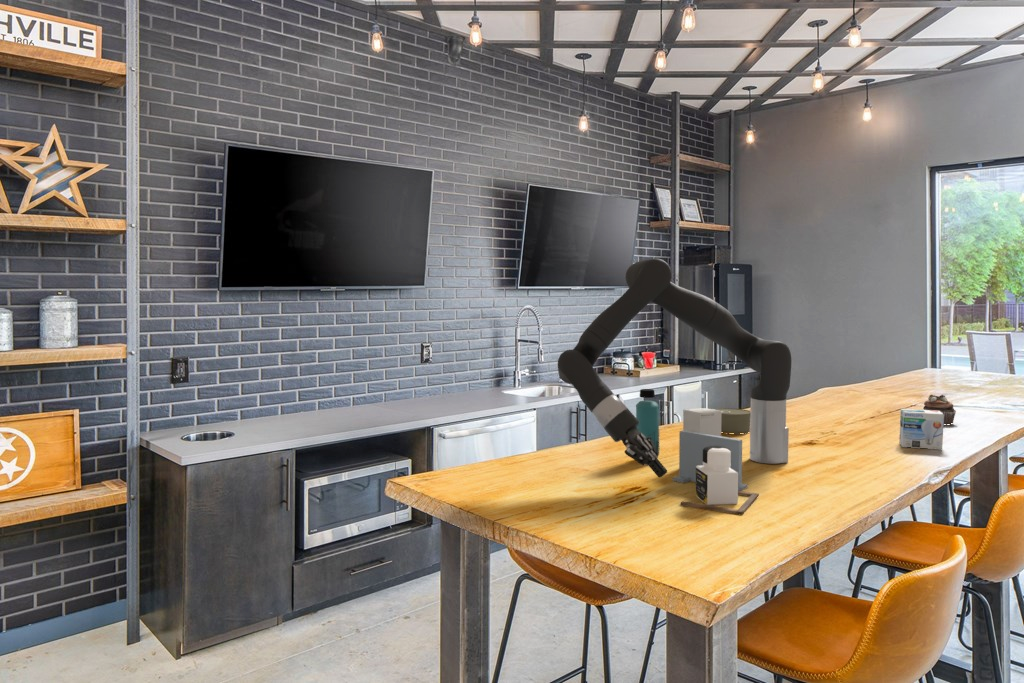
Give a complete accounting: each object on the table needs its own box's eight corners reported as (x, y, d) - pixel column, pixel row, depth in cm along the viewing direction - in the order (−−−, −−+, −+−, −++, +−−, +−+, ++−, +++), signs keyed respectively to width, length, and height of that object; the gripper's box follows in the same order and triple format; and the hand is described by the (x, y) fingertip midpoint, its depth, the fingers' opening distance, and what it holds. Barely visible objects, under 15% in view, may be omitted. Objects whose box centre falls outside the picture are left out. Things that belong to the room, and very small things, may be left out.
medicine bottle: (695, 496, 156) (695, 444, 155) (725, 495, 156) (726, 443, 156) (706, 505, 149) (707, 451, 148) (738, 504, 149) (738, 450, 149)
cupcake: (930, 425, 236) (931, 396, 235) (918, 420, 245) (919, 393, 245) (960, 426, 234) (961, 397, 234) (947, 421, 244) (948, 393, 243)
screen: (672, 480, 169) (673, 432, 168) (688, 475, 174) (688, 428, 173) (732, 493, 157) (733, 442, 156) (747, 487, 162) (748, 437, 161)
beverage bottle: (659, 463, 186) (660, 390, 184) (634, 462, 187) (635, 390, 186) (659, 458, 192) (659, 387, 191) (635, 457, 193) (635, 387, 192)
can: (755, 435, 223) (756, 414, 223) (718, 435, 224) (719, 414, 223) (743, 427, 235) (744, 408, 235) (708, 428, 235) (709, 408, 235)
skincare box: (698, 472, 176) (698, 412, 175) (680, 467, 182) (681, 409, 181) (722, 468, 180) (723, 410, 179) (704, 463, 186) (705, 406, 185)
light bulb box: (901, 447, 203) (902, 411, 202) (898, 443, 209) (899, 408, 208) (943, 450, 199) (945, 413, 198) (939, 445, 205) (940, 410, 204)
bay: (680, 505, 149) (680, 502, 149) (700, 488, 162) (700, 485, 162) (742, 515, 142) (742, 512, 142) (758, 496, 155) (758, 493, 155)
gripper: (614, 411, 157) (665, 471, 151) (635, 404, 168) (684, 459, 162) (593, 432, 160) (642, 491, 154) (615, 423, 171) (662, 478, 166)
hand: (663, 474), depth 158 cm, fingers closed
